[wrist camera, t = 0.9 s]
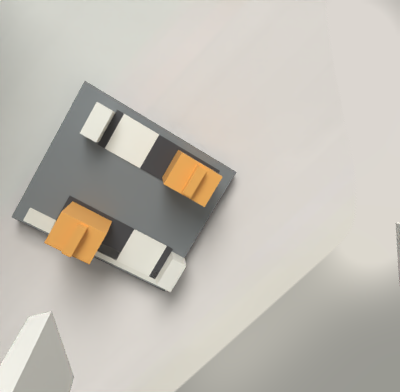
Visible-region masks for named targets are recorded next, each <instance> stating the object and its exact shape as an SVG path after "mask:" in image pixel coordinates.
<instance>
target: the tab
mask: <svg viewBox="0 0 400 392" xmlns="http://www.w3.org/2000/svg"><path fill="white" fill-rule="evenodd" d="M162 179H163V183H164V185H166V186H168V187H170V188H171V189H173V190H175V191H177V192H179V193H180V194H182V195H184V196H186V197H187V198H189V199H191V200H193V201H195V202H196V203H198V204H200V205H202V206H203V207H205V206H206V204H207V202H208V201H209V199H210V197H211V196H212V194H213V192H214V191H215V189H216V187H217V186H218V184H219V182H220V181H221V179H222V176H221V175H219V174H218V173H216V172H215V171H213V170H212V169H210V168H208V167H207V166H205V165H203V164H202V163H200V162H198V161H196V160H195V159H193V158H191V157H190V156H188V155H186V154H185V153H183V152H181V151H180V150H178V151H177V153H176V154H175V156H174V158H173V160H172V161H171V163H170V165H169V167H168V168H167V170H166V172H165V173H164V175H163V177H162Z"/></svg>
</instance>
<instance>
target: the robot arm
mask: <svg viewBox="0 0 400 392" xmlns="http://www.w3.org/2000/svg"><path fill="white" fill-rule="evenodd" d="M396 233H397V252H398V269H399V286H400V222H397V223H396ZM73 379H74V376H73V373H72V370H71V367H70V364H69V361H68V358H67V355H66V352H65V349H64V346H63V343H62V340H61V337H60V334H59V332H58V329H57V326H56V323H55V320H54V317H53V314H52V311H50V312H46V313H42V314H38V315H34V316H30V317H28V319H27V321H26V322H25V324H24V326H23V328H22V329H21V331H20V333H19V334H18V336H17V338H16V339H15V341H14V343H13V345H12V346H11V348H10V350H9V351H8V353H7V355H6V357H5V358H4V360H3V362H2V363H1V365H0V392H70V390H71V386H72V382H73Z"/></svg>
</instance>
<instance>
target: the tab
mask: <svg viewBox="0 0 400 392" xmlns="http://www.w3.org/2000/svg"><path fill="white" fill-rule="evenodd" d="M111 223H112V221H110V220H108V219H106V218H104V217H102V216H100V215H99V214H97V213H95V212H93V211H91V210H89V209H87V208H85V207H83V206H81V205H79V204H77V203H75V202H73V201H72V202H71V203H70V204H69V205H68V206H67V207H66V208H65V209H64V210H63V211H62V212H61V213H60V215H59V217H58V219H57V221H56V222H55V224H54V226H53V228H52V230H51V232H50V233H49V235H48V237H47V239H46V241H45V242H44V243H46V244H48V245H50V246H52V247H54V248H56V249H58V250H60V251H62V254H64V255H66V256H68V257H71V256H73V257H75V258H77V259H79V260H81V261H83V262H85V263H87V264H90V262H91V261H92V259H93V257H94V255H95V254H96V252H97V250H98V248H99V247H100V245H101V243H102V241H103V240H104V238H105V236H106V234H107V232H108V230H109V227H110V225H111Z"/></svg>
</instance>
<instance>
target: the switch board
mask: <svg viewBox="0 0 400 392" xmlns="http://www.w3.org/2000/svg"><path fill="white" fill-rule="evenodd" d="M178 150H180V151H181V152H183V153H185V154H186V155H188V156H190V157H191V158H193V159H195V160H196V161H198V162H200V163H202V164H203V165H205V166H207V167H208V168H210V169H212V170H213V171H215V172H216V173H218V174H219V175H221V176H222V179H221V181H220V182H219V184H218V186H217V187H216V189H215V191H214V192H213V194H212V196H211V197H210V199H209V201H208V202H207V204H206V206H205V207H203V206H202V205H200V204H198V203H196V202H195V201H193V200H191V199H189V198H187V197H186V196H184V195H182V194H180V193H179V192H177V191H175V190H173V189H171V188H170V187H168V186H166V185H164V183H163V179H162V177H163V175H164V173H165V172H166V170H167V168H168V167H169V165H170V163H171V161H172V160H173V158H174V156H175V154H176V153H177V151H178ZM235 174H236V172H235V171H234V170H232V169H230V168H229V167H227V166H225V165H224V164H222V163H220V162H219V161H217V160H215V159H214V158H212V157H210V156H209V155H207V154H205V153H204V152H202V151H200V150H199V149H197V148H195V147H194V146H192V145H190V144H189V143H187V142H186V141H184V140H182V139H181V138H179V137H177V136H176V135H174V134H172V133H171V132H169V131H167V130H166V129H164V128H162V127H161V126H159V125H157V124H156V123H154V122H152V121H151V120H149V119H147V118H146V117H144V116H142V115H141V114H139V113H137V112H136V111H134V110H132V109H131V108H129V107H127V106H126V105H124V104H122V103H121V102H119V101H117V100H116V99H114V98H112V97H111V96H109V95H107V94H106V93H104V92H102V91H101V90H99V89H98V88H96V87H94V86H93V85H91V84H89V83H88V82H86V81H85V82H84V83H83V85H82V87H81V89H80V91H79V93H78V95H77V97H76V98H75V100H74V102H73V104H72V106H71V108H70V110H69V111H68V113H67V115H66V117H65V119H64V121H63V123H62V124H61V126H60V128H59V130H58V132H57V134H56V136H55V137H54V139H53V141H52V143H51V145H50V147H49V149H48V150H47V152H46V154H45V156H44V158H43V160H42V162H41V163H40V165H39V167H38V169H37V171H36V173H35V175H34V176H33V178H32V180H31V182H30V184H29V186H28V188H27V190H26V191H25V193H24V195H23V197H22V199H21V201H20V203H19V204H18V206H17V208H16V210H15V212H14V214H13V216H12V218H14V219H16V220H19V221H21V222H23V223H25V224H27V225H29V226H31V227H33V228H35V229H37V230H39V231H41V232H43V233H45V234H47V235H49V233H50V232H51V230H52V228H53V226H54V224H55V222H56V221H57V219H58V217H59V215H60V213H61V212H62V211H63V210H64V209H65V208H66V207H67V206H68V205H69V204H70V203H71V202H72V201H73V202H75V203H77V204H79V205H81V206H83V207H85V208H87V209H89V210H91V211H93V212H95V213H97V214H99V215H100V216H102V217H104V218H106V219H108V220H110V221H112V223H111V225H110V227H109V230H108V232H107V234H106V236H105V238H104V240H103V241H102V243H101V245H100V247H99V248H98V250H97V252H96V254H95V255H94V257H95V258H97V259H99V260H101V261H103V262H105V263H107V264H110V265H112V266H114V267H116V268H118V269H120V270H122V271H124V272H126V273H128V274H130V275H132V276H134V277H136V278H138V279H141V280H143V281H145V282H147V283H149V284H151V285H153V286H155V287H157V288H159V289H161V290H163V291H165V290H167V291H169V292H171V291H172V289H173V287H174V286H175V284H176V282H177V281H178V279H179V277H180V276H181V274H182V273H183V271H184V269H185V268H186V262H185V256H186V255H187V253H188V251H189V250H190V248H191V247H192V245H193V243H194V242H195V240H196V238H197V237H198V235H199V233H200V232H201V230H202V228H203V227H204V225H205V223H206V222H207V220H208V218H209V217H210V215H211V213H212V212H213V210H214V208H215V207H216V205H217V204H218V202H219V200H220V199H221V197H222V195H223V194H224V192H225V190H226V189H227V187H228V185H229V184H230V182H231V180H232V179H233V177H234V175H235Z"/></svg>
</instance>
